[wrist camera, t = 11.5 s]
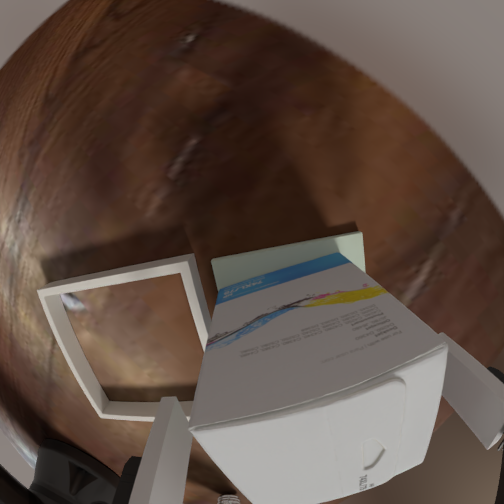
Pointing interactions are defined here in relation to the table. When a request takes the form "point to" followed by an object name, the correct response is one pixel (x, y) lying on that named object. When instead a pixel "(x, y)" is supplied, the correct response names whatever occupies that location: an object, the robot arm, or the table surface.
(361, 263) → the mat
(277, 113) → the table surface
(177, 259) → the tray rim
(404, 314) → the ink box
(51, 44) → the table surface
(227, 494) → the light bulb
